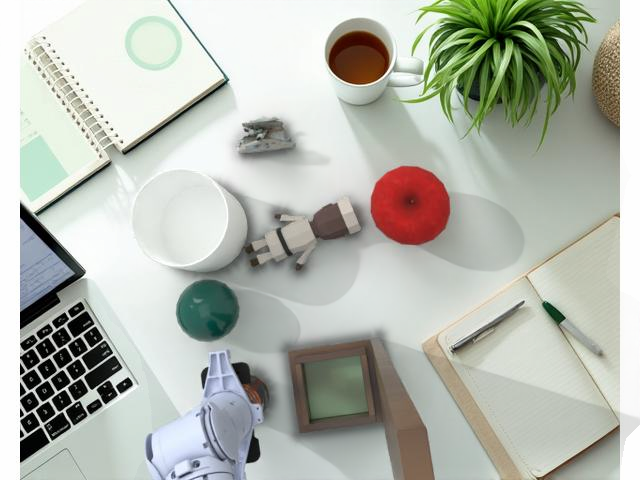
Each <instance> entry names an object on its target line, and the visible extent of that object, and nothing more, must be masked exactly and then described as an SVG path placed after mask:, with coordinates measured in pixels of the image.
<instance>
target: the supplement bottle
mask: <svg viewBox="0 0 640 480" xmlns="http://www.w3.org/2000/svg"><path fill="white" fill-rule="evenodd" d="M250 375H251V383H249V384H242V386H243V388H244V390H245V392H246V394H247V396H248V398H249V400H250V402H251V403H252V404H260V405H262V408H263V414H264V413H265V412H266V410H267V408H268V406H269V402H270V391H269V389H268V386H267V385H266V383H265V381H263V379H261V378H260V377H259V376H257V375H253V374H250ZM258 409H259V408H258ZM255 426H256V425H254V427H255Z"/></svg>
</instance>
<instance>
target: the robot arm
mask: <svg viewBox="0 0 640 480" xmlns="http://www.w3.org/2000/svg"><path fill="white" fill-rule="evenodd" d="M231 357H232V354H231V349H230V348H226V349H220V350H219V349H218V350H213V351H209V352H208V366H206V367H204V368H203V369H202V371H201V373H200V380H201V388H202V390H203V392H202V397H201V401H200V403H199V404H198V405H196V406H195V407H193V408H192V409H190V410H188V411H187V412H186V413H185V414H184V415H182V416H181V417H178V418H175V420H173V421H170V422H168V423H166V424H164V425H161V426H160V427H158V428H156V429H155V430H153V432H152V433H151V432H150V433H148V434H146V436H145V438H144V441H143V442H144V443H143V444H144V445H143V450H144V459H145V463H146V466H147V469H148V472H149V474H150V477H151V479H152V480H248V479H247V473H246V471H245V470H246V465H247V464H253V463H257V462H258V461H259V460H260V458H261V455H262V453H261V445H260V444H261V443H260V439H259V438H258V437H256V435H255V428H254V427H255V426H256V425H260V424H262V423H263V422H264V419H265V416H264V413H263V408H262V405H260V404H252V403H251V402H250V400H249V398H248V396H247V394H246V392H245V390H244V388H243V386H242V384H249V383H251V375H252V374H251V369H250V366H249V363H247V362H244V361H237V362H231ZM258 408H259V409H258ZM254 425H255V426H254Z"/></svg>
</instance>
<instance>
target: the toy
mask: <svg viewBox="0 0 640 480" xmlns="http://www.w3.org/2000/svg"><path fill="white" fill-rule="evenodd" d="M274 219H279V221H280V222H281V221H283V222H284V221H289V222H291V223H289V224H287V225H285V226H283V227H281V226H279V227H277V228H275V229H274V230H270V231H267V232H265V233H264V238H262V239H257V240H254V241H251V244H249V245H246V246H243V248H244V250H245V253H246V254H248V255H250V254H251V253H254V252H255V253H257V252H259V251H261V250H263V249H265V248H266V247H268V249H269V251H267V252H263V253H261V254H260V253H259V254H257V255H256V258H253V259H250V260H249V264H250V266H251V267H253V268H255V267H257V266H259V265H261V266H263V265H264V264H266V263H267V262H270V261H271V260H274V261H275V262H276V263H279V262H280V261H282V260H284V259H286V258H287V257H288V258H290V257H292V256H294V254H297V253H300V252H302V254H301V256H300V257H299V258H298V259H297V260H296V263H297V264H296V267H294V268H295V271H296V272H298V271H301V269H302V268H303V266H304V265H305V264H306V262H307V259H308V257H309V255H310V254H311V253H312V251H313V250H315V248H316V247H317V245H316V244H317V243H318V238H319V239H321V240H322V241H331V240H338V239H339V240H340V239H341V238H344V237H346V235H347V234H350V235H353V234H355V233H357V232H360V231H362V227H361V225H360V223H359V220H358V218H357V215H356V213H355V210H354V208H353V205H352V203H351V201H350V199H349V196H348V195H346V196H344V197H342V198H339V199H337V200H336V202H335V203H331V202H330V203H328V204H326V205H324V206H322V207H321V208H320V209H319V210H317V211H316V212H314V214H313V217H312V220H310V219H309V218H306V217H305V216H303V215H302V216H301V215H300V216H291V215H288V214H283V213H276V214H274Z"/></svg>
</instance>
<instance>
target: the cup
mask: <svg viewBox="0 0 640 480" xmlns="http://www.w3.org/2000/svg"><path fill="white" fill-rule="evenodd" d="M130 229H131V232H132V236H133V239H134V240H135V242H136V245H137V246H138V248H139V249H140V250H141V251H142V253H143V254H144V255H145V256H147V257H148V258H149V259H150V260H152V262H154V263H157V264H159V265H160V266H161V265H162V266H165V267H168V268H172V269H178V270H184V271H185V270H186V271H189V272H197V273H198V272H199V273H200V272H201V273H209V272H214V271H217V270H220V269H222V268H225V267H226V266H228V265H229V264H231V263H232V262H234V260H235V259H236V258H237V257H238V256H239V255H240V253H241V251H242V250H243V248H244V247H245V244H246V241H247V238H248V219H247V216H246V212H245V210H244V208H243V206H242V205H241V203H240V202H239V201H238V200H237V198H236V197H235V196H234V195H233V194H232V193H231V192H229V191H228V190H227V189H225V188H224V187H223V186H222V185H220V184H219V183H218V182H217V181H216V180H214V179H213V178H211V176H209V175H208V174H206V173H205V172H202V171H200V170H197V169H192V168H188V167H175V168H171V169H166V170H164V171H161V172H158V173H157V174H155V175H154V176H152V177H151V178H149V179H148V180H147V181H146V183H145V184H143V186H142V187H140V189H139V191H138V192H137V194H136V195H135V198H134V200H133V204H132V206H131V213H130Z"/></svg>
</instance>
